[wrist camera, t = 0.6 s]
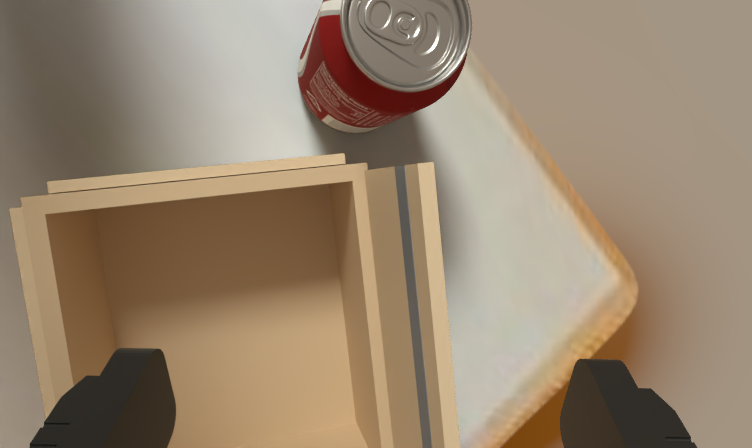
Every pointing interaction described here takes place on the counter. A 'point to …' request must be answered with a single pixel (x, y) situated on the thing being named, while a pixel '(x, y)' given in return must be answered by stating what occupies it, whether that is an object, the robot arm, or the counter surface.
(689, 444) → the robot arm
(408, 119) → the counter surface
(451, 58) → the soda can
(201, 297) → the carton
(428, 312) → the flap
